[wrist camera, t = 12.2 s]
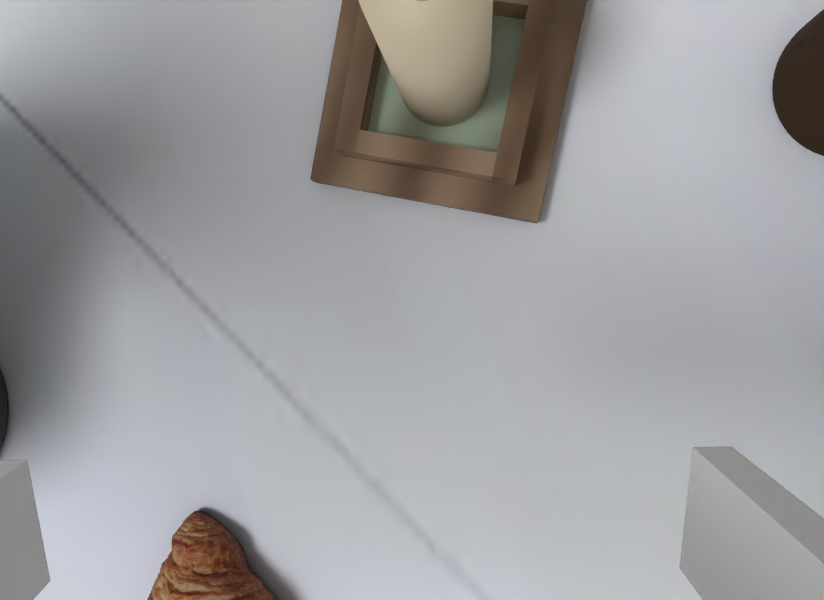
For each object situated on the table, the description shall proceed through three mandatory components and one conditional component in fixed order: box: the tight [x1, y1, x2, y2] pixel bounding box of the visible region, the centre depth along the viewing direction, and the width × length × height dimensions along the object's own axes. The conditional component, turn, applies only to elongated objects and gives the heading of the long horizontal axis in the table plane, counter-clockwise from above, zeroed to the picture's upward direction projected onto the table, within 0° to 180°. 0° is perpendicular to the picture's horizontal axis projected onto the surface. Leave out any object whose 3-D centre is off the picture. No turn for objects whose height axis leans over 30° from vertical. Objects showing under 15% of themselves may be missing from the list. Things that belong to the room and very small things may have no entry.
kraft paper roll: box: [359, 0, 493, 127], centre depth 27 cm, size 6×6×12 cm
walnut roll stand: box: [310, 0, 587, 223], centre depth 33 cm, size 16×16×3 cm
